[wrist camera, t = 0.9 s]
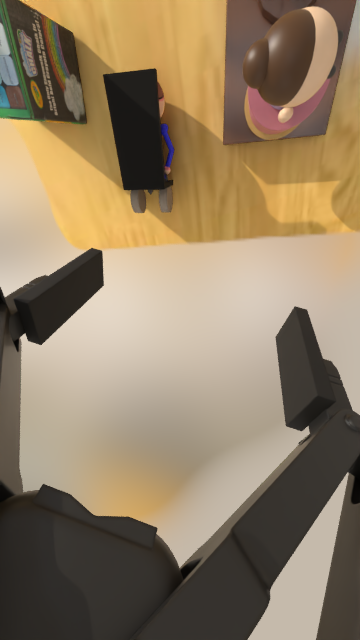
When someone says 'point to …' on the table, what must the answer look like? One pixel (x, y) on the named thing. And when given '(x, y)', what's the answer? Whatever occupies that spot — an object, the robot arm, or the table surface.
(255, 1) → the brown wooden base
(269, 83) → the doll
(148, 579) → the robot arm
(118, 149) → the figurine character
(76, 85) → the chalk box
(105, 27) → the table surface
